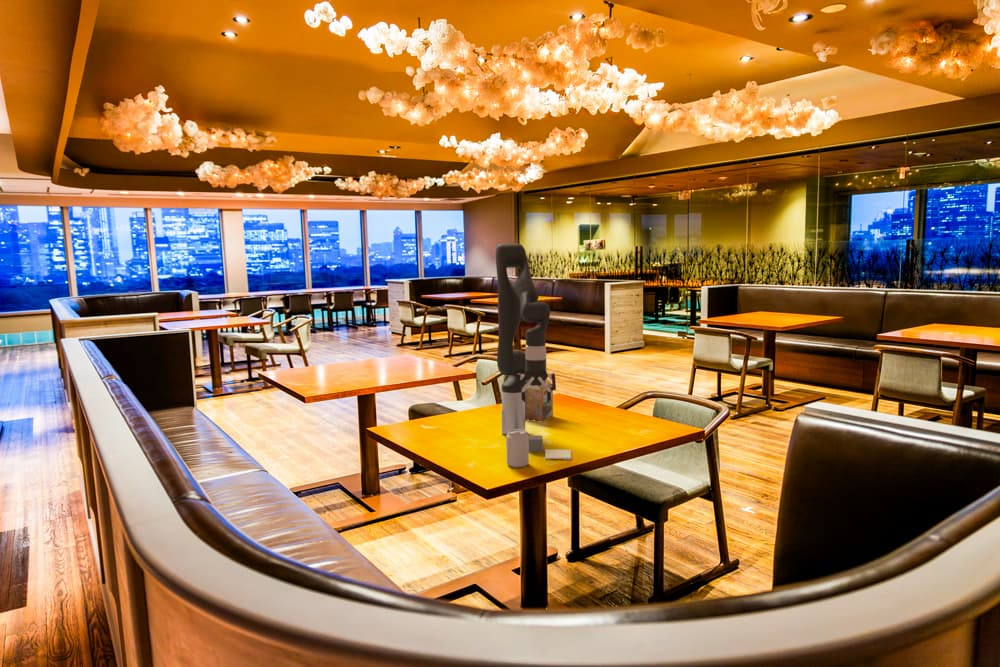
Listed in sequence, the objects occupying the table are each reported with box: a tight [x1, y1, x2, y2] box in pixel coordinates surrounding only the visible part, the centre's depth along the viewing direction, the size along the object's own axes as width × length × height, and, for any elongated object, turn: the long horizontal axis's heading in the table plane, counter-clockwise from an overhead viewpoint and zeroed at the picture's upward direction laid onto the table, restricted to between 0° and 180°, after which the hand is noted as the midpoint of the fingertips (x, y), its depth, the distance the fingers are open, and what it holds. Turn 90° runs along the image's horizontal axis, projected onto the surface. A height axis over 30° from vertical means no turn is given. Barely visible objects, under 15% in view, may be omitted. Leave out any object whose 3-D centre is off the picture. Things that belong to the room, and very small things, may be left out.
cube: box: [528, 434, 544, 454], centre depth 236 cm, size 5×5×5 cm
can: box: [505, 429, 530, 469], centre depth 220 cm, size 8×8×12 cm
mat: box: [544, 449, 572, 461], centre depth 230 cm, size 9×9×1 cm
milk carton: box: [525, 378, 554, 423], centre depth 281 cm, size 11×11×19 cm
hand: (536, 401), depth 234 cm, fingers open, 8 cm apart
